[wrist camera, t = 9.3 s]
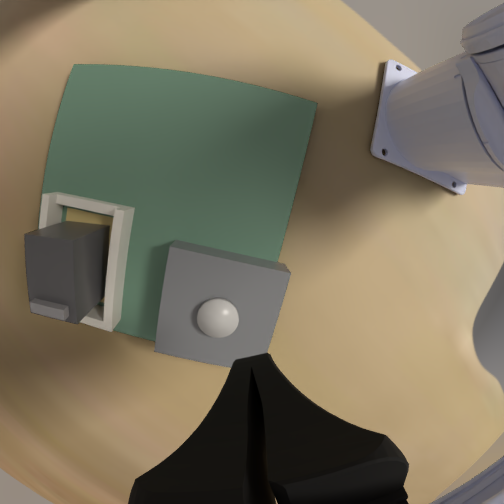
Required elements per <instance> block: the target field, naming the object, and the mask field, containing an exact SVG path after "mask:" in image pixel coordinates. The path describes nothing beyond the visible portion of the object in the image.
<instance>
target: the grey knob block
mask: <svg viewBox="0 0 504 504" xmlns="http://www.w3.org/2000/svg"><path fill="white" fill-rule="evenodd" d="M290 275H291V272H290V271H289V269H288V268H287V266H286V265H285V264H283V263H279V262H274V261H270V260H265V259H261V258H256V257H252V256H247V255H243V254H238V253H234V252H229V251H225V250H220V249H216V248H211V247H207V246H202V245H198V244H193V243H189V242H184V241H180V240H175V241H174V242H173V243H172V244H171V246H170V248H169V253H168V259H167V265H166V271H165V277H164V283H163V289H162V296H161V303H160V310H159V317H158V325H157V333H156V341H155V350H154V352H158V353H162V354H167V355H171V356H175V357H180V358H184V359H189V360H194V361H198V362H203V363H208V364H214V365H219V366H224V367H230V368H231V367H232V364H233V362H234V361H235V360H236V359H241V358H245V357H250V356H255V355H259V354H264V353H267V351H268V348H269V345H270V341H271V338H272V335H273V332H274V329H275V325H276V322H277V319H278V316H279V312H280V309H281V306H282V302H283V299H284V296H285V292H286V289H287V285H288V282H289V279H290Z"/></svg>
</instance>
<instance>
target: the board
mask: <svg viewBox="0 0 504 504" xmlns="http://www.w3.org/2000/svg"><path fill="white" fill-rule="evenodd" d="M316 108H317V103H316V102H313V101H309V100H306V99H303V98H300V97H296V96H293V95H290V94H286V93H283V92H279V91H275V90H272V89H268V88H264V87H260V86H256V85H252V84H247V83H243V82H238V81H234V80H229V79H224V78H219V77H214V76H208V75H202V74H196V73H190V72H183V71H176V70H168V69H159V68H150V67H138V66H124V65H100V64H74V65H73V68H72V71H71V73H70V76H69V79H68V82H67V85H66V88H65V91H64V94H63V98H62V101H61V104H60V108H59V111H58V115H57V119H56V123H55V127H54V131H53V135H52V139H51V144H50V148H49V153H48V158H47V164H46V169H45V175H44V181H43V188H42V195H41V203H40V212H39V223H38V229H41V228H44V227H48V226H51V225H54V224H57V223H61V222H64V221H74V222H83V223H92V224H102V225H110V227H109V255H108V264H107V275H106V287H105V297H104V298H103V299H102V300H101V301H100V302H99V303H98V304H97V305H96V306H95V307H94V308H93V309H92V310H91V311H90V312H89V313H88V314H87V315H86V316H85V317H84V318H83V319H82V320H81V321H80V322H81V323H84V324H87V325H90V326H93V327H97V328H100V329H103V330H106V331H110V332H112V331H113V330H114V331H118V332H121V333H125V334H128V335H132V336H136V337H140V338H143V339H147V340H151V341H156V333H157V325H158V317H159V310H160V303H161V296H162V289H163V283H164V277H165V271H166V265H167V259H168V253H169V248H170V246H171V244H172V243H173V242H174V241H175V240H180V241H184V242H189V243H193V244H198V245H202V246H207V247H211V248H216V249H220V250H225V251H229V252H234V253H238V254H243V255H247V256H252V257H256V258H261V259H265V260H270V261H274V262H278V258H279V255H280V251H281V247H282V243H283V240H284V236H285V232H286V228H287V225H288V221H289V217H290V213H291V209H292V205H293V202H294V198H295V194H296V190H297V186H298V182H299V178H300V174H301V170H302V166H303V162H304V158H305V154H306V150H307V146H308V141H309V137H310V133H311V129H312V125H313V121H314V116H315V112H316Z"/></svg>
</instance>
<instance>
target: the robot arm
mask: <svg viewBox="0 0 504 504" xmlns="http://www.w3.org/2000/svg"><path fill="white" fill-rule="evenodd" d="M461 45H462V47H463V48H464V49H465V52H463V53H461V54H459V55H456V56H454V57H452V58H449V59H447V60H445V61H443V62H440V63H438V64H436V65H434V66H432V67H430V68H427V69H425V70H423V71H421V72H419V73H417V72H415V71H413V70H412V69H410V68H408V67H406V66H404V65H402V64H400V63H398V62H396V61H394V60H392V59H390V60H388V61H387V62H386V63H385V69H384V76H383V83H382V89H381V95H380V101H379V107H378V112H377V118H376V123H375V128H374V133H373V138H372V143H371V148H370V151H371V153H372V155H373V156H375V157H377V158H380V159H382V160H385V161H387V162H390V163H392V164H394V165H397V166H399V167H401V168H404V169H406V170H408V171H411V172H413V173H415V174H417V175H420V176H422V177H424V178H426V179H428V180H430V181H433V182H435V183H437V184H439V185H441V186H443V187H445V188H447V189H449V190H451V191H453V192H455V193H457V194H460V195H463V194H464V193H465V191H466V185H467V184H474V185H484V186H494V187H503V188H504V3H503V4H501V5H499V6H497V7H495V8H493V9H491V10H490V11H488V12H486V13H484V14H483V15H481V16H479V17H478V18H476V19H475V20H473V21H471V22H470V23H469V24H467V25H466V26H465V27H464V28H463V29H462V40H461ZM396 67H398V68H399V71H398V70H397V69H396ZM382 149H384V150H385V156H384V155H383V154H382ZM452 183H453V186H452ZM408 468H409V464H408V462H407V460H406V458H405V456H404V455H403V453H402V452H401V451H400V450H399V448H398V447H397V446H396V445H395V444H394V443H393V442H392V441H391V440H390V439H389V438H388V437H387V436H386V435H384V434H380V433H377V432H373V431H370V430H366V429H363V428H360V427H358V426H356V425H353V424H351V423H348V422H346V421H344V420H342V419H340V418H338V417H337V416H335V415H333V414H331V413H329V412H327V411H326V410H324V409H323V408H321V407H319V406H318V405H317V404H315V403H314V402H312V401H311V400H310V399H308V398H307V397H306V396H305V395H304V394H302V393H301V392H300V391H299V390H298V389H297V388H296V387H295V386H294V385H293V384H292V383H291V382H290V381H289V380H288V379H287V378H286V377H285V376H284V375H283V373H282V372H281V371H280V370H279V368H278V367H277V366H276V364H275V363H274V361H273V359H272V357H271V355H270V354H268V353H264V354H259V355H255V356H250V357H245V358H241V359H236V360H235V361H234V362H233V364H232V367H231V370H230V372H229V375H228V377H227V380H226V382H225V384H224V386H223V388H222V390H221V392H220V394H219V396H218V398H217V399H216V401H215V403H214V404H213V406H212V408H211V410H210V411H209V413H208V414H207V416H206V417H205V418H204V420H203V421H202V422H201V424H200V425H199V426H198V428H197V429H196V430H195V431H194V432H193V433H192V435H191V436H190V437H189V438H188V439H187V440H186V441H185V442H184V443H183V444H182V445H181V446H180V447H179V448H178V449H177V450H176V451H175V452H173V453H172V454H171V455H170V456H169V457H167V458H166V459H165V460H164V461H162V462H161V463H160V464H158V465H157V466H155V467H154V468H152V469H151V470H149V471H148V472H146V473H145V474H143V475H141V476H140V477H138V478H136V479H135V482H134V485H133V487H132V490H131V493H130V497H129V502H128V504H276V501H275V498H276V500H277V503H278V504H408V502H407V500H406V499H407V498H408V495H407V493H406V491H405V489H404V487H403V485H404V482H405V479H406V476H407V473H408ZM430 504H504V456H503V457H502V458H500V459H499V460H498V461H496V462H495V463H494V464H492V465H491V466H489V467H488V468H487V469H485V470H484V471H482V472H481V473H480V474H478V475H477V476H475V477H474V478H472V479H471V480H469V481H468V482H466V483H465V484H463V485H461V486H460V487H458V488H456V489H455V490H453V491H452V492H450V493H448V494H446V495H444V496H443V497H441V498H439V499H437V500H435V501H433V502H432V503H430Z"/></svg>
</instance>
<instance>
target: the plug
mask: <svg viewBox="0 0 504 504" xmlns="http://www.w3.org/2000/svg"><path fill="white" fill-rule="evenodd" d="M109 227H110V225H102V224H92V223H83V222H74V221H64V222H61V223H57V224H54V225H51V226H48V227H44V228H41V229H38V230H35V231H32V232H29V233H26V234H25V260H26V274H27V285H28V294H29V302H30V310H31V313H35V314H38V315H42V316H46V317H50V318H54V319H58V320H62V321H66V322H70V323H74V324H78V323H79V322H80V321H81V320H82V319H83V318H84V317H85V316H86V315H87V314H88V313H89V312H90V311H91V310H92V309H93V308H94V307H95V306H96V305H97V304H98V303H99V302H100V301H101V300H102V299H103V298H104V297H105V287H106V275H107V264H108V255H109Z"/></svg>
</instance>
